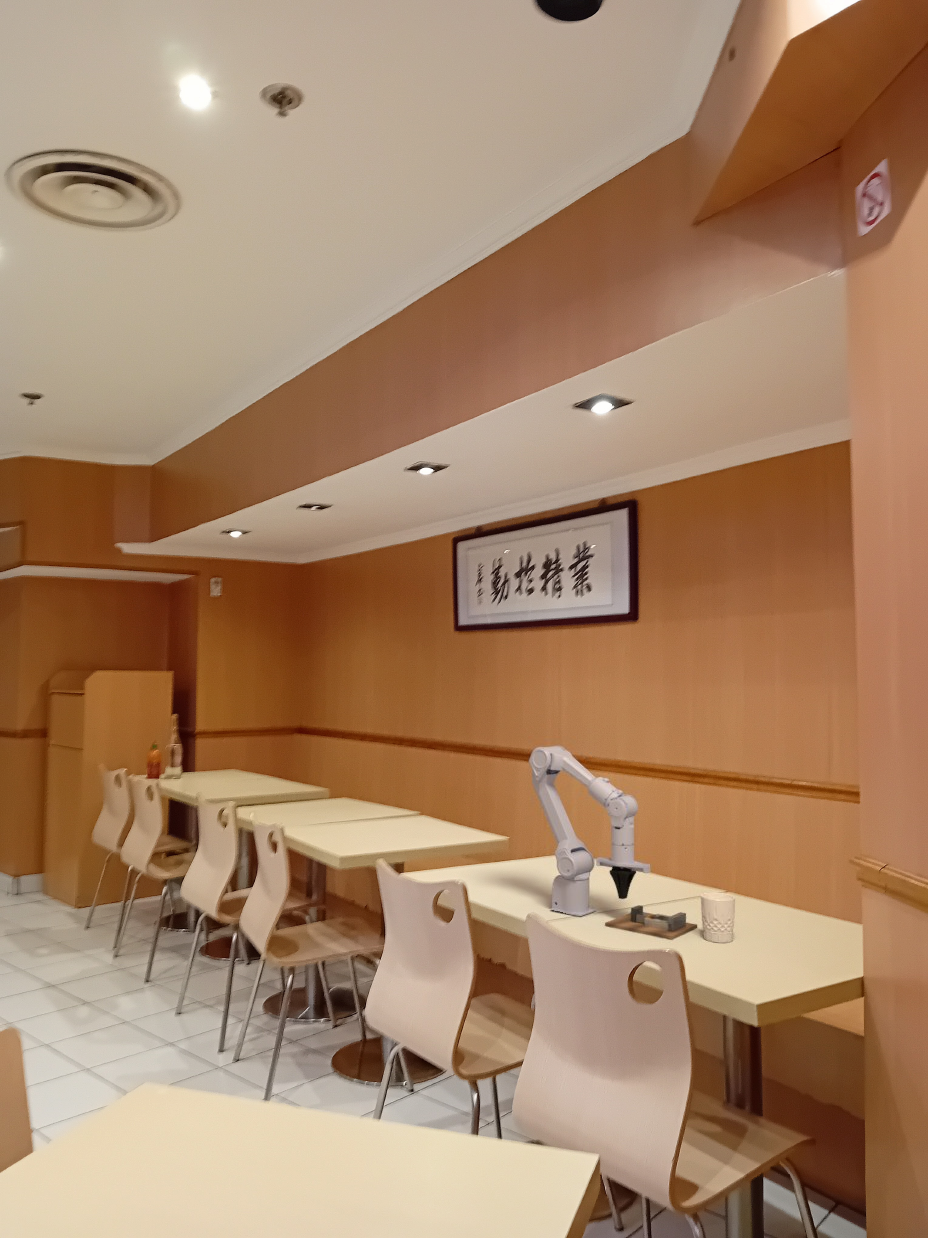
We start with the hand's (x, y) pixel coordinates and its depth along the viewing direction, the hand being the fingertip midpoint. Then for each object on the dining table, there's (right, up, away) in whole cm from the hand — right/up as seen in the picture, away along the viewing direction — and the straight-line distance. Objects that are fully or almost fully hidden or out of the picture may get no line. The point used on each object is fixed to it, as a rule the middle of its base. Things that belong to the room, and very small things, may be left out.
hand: (622, 898), depth 229 cm
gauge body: (+9, -5, -8) cm, 13 cm away
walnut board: (+6, -6, -5) cm, 10 cm away
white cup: (+20, -5, -15) cm, 26 cm away
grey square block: (+4, -4, -5) cm, 8 cm away
